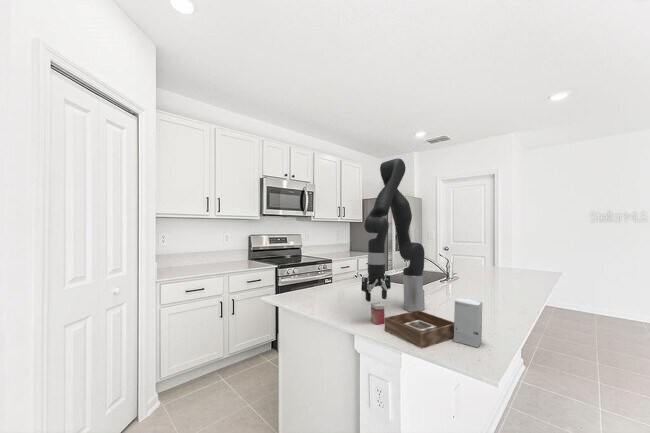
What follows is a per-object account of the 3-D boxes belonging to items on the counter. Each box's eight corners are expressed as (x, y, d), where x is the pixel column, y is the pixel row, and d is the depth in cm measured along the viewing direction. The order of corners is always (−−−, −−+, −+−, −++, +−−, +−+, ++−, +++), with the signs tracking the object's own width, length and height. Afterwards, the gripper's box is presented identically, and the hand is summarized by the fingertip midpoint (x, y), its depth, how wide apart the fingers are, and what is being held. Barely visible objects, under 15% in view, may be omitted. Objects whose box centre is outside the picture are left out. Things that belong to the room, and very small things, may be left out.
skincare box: (453, 341, 102) (452, 300, 102) (458, 336, 106) (457, 297, 107) (479, 348, 96) (478, 304, 96) (483, 342, 101) (482, 300, 101)
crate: (418, 321, 122) (418, 310, 123) (457, 336, 106) (457, 323, 106) (384, 330, 113) (384, 317, 113) (422, 348, 97) (421, 333, 97)
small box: (370, 321, 124) (370, 302, 124) (379, 319, 125) (379, 302, 126) (375, 324, 119) (375, 306, 119) (385, 323, 120) (384, 305, 121)
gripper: (383, 260, 130) (383, 296, 129) (358, 262, 123) (357, 300, 122) (394, 262, 123) (394, 300, 123) (368, 264, 116) (368, 304, 116)
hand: (376, 300), depth 123 cm, fingers open, 8 cm apart
